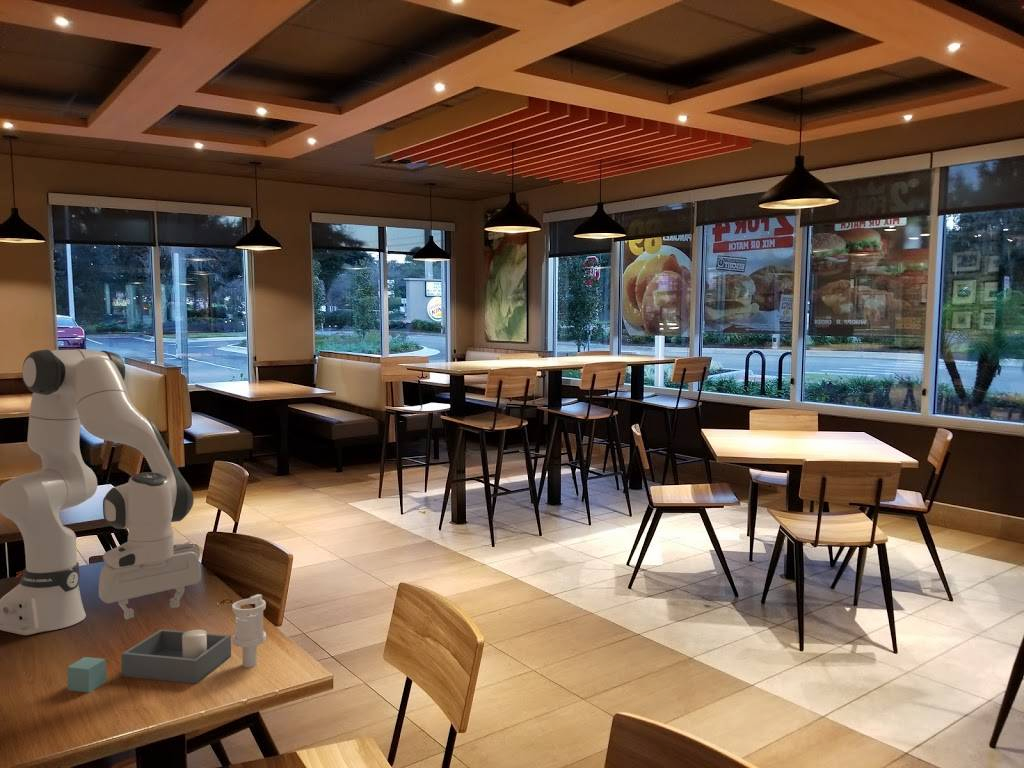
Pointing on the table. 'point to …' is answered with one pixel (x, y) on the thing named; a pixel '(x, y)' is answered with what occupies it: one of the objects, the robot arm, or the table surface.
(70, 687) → the teal cube
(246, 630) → the grey slotted cylindrical housing
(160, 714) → the table surface
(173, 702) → the table surface
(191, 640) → the cream capsule
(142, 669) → the tote
